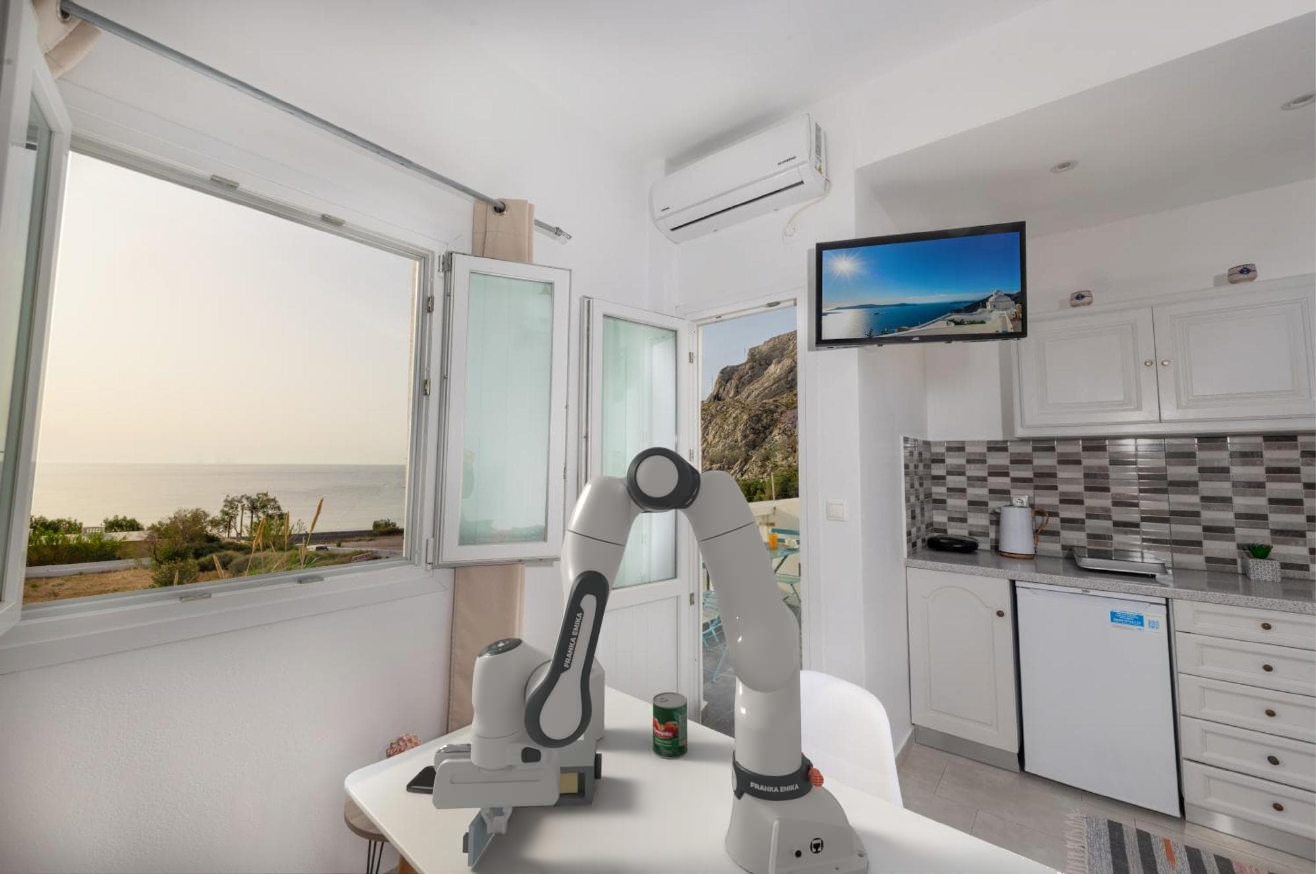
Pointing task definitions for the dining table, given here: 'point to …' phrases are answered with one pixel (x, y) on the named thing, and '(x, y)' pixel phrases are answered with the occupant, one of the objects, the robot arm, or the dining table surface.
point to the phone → (423, 781)
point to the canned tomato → (670, 725)
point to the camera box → (578, 773)
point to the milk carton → (596, 703)
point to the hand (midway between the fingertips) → (497, 831)
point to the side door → (478, 836)
